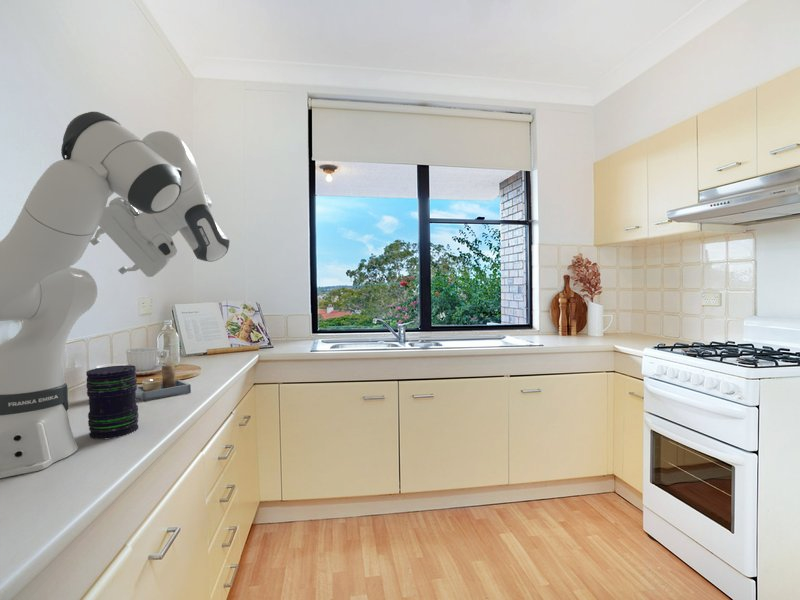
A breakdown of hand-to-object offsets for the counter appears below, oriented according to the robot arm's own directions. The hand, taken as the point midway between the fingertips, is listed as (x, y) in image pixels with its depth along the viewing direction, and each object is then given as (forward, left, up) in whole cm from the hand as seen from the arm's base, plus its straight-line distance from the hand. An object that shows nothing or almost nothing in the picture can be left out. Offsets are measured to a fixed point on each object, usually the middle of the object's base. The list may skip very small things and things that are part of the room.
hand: (106, 257), depth 112 cm
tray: (+16, +17, -42) cm, 48 cm away
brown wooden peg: (+18, +17, -41) cm, 48 cm away
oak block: (+13, +15, -41) cm, 46 cm away
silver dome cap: (+13, +20, -41) cm, 47 cm away
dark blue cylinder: (-3, -14, -42) cm, 45 cm away
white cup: (+4, +26, -42) cm, 50 cm away
